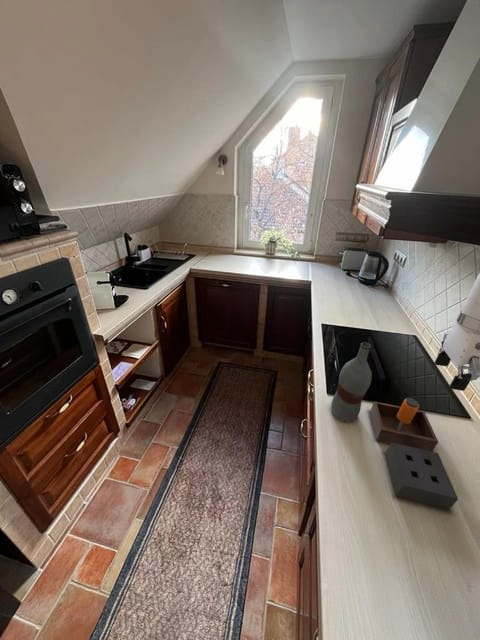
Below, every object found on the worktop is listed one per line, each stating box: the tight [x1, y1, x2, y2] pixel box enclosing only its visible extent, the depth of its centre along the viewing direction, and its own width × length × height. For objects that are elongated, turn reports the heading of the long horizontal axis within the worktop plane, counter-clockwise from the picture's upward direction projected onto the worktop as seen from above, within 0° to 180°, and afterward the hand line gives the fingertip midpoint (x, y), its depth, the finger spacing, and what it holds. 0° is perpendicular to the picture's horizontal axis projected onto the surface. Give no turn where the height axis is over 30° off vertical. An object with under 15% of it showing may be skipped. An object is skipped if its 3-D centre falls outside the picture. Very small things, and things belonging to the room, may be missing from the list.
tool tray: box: [369, 401, 439, 452], centre depth 83 cm, size 16×12×6 cm
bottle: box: [330, 341, 373, 423], centre depth 83 cm, size 9×9×30 cm
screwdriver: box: [397, 397, 420, 431], centre depth 80 cm, size 4×4×13 cm
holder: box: [384, 443, 459, 511], centre depth 69 cm, size 12×12×6 cm
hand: (448, 376), depth 68 cm, fingers open, 9 cm apart
